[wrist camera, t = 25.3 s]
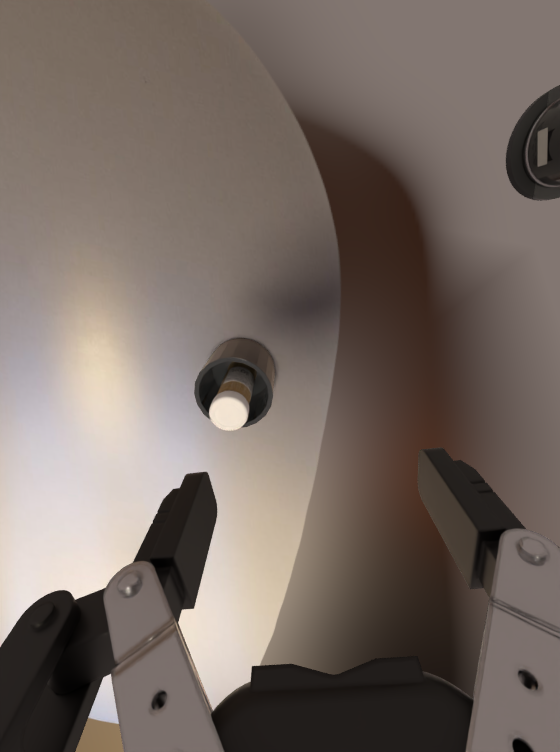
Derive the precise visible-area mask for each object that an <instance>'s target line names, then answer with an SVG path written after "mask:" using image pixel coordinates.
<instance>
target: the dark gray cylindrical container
mask: <svg viewBox="0 0 560 752" xmlns="http://www.w3.org/2000/svg"><path fill="white" fill-rule="evenodd" d="M232 362H238V363H244V364H246V365H248V366H250V367H252V368H254V369H255V370H256V378H255V380H254V386H253V391H252V395H251V400H250V402H249V414H248V418H247V421H246V423H245V424H244V425H243V426H242V427H248V426H250V425H252V424H255V423H257V422H258V421H260V420H261V419H262V418H263V417H264V416H265V415H266V414H267V412H268V410H269V409H270V407H271V404H272V398H273V389H274V377H275V368H274V362H273V359H272V357H271V355H270V353H269V352H268V351H267V350H266V349H265V348H264V347H263V346H262V345H261V344H259V343H257V342H255V341H253V340H250V339H245V338H236V339H231V340H228V341H226V342H224V343H223V344H221V345H220V346H219V347H218V348H217V349H216V350H215V351H214V352H213V354H212V355H211V357H210V358H209V360H208V361H207V363H206V364H205V365H204V367H203V368H202V370H201V371H200V373H199V375H198V377H197V379H196V382H195V391H194V393H195V398H196V402H197V404H198V406H199V408H200V409H201V411H202V412H203V414H204V415H205V416H207V417H208V418H209V419H210V416H209V409H210V406H211V403H212V401H213V399H214V398H215V396H216V395H217V393H218V391H219V389H220V386H221V383H222V381H223V378H224V376H225V374H226V373H227V371H228V367H229V365H230V364H231V363H232ZM210 420H211V419H210Z"/></svg>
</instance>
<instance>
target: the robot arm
mask: <svg viewBox="0 0 560 752" xmlns="http://www.w3.org/2000/svg"><path fill="white" fill-rule="evenodd" d="M522 164H523V168H524V171H525V173H526V175H527V177H528V178H529V179H530V180H531V181H532V182H533V183H534V184H536V185H538V186H540V187H544V188H556V187H560V98H559V99H557V100H556V101H554V102H552V103H551V104H550V105H548V106H547V107H546V108H545V109H544V110H543V111H542V112H541V113H540V114H539V115H538V116H537V117H536V119H535V120H534V122H533V123H532V125H531V126H530V128H529V130H528V132H527V135H526V137H525V140H524V144H523V149H522ZM418 463H419V464H418V488H419V493H420V495H421V498H422V501H423V503H424V505H425V506H426V508H427V510H428V512H429V514H430V516H431V518H432V519H433V521H434V523H435V525H436V527H437V529H438V530H439V532H440V534H441V536H442V538H443V540H444V542H445V543H446V545H447V547H448V549H449V551H450V553H451V554H452V556H453V558H454V560H455V562H456V564H457V566H458V567H459V569H460V571H461V573H462V575H463V577H464V578H465V580H466V582H467V584H468V586H469V588H470V589H477V588H484V589H485V591H486V593H487V595H488V596H489V604H488V610H487V616H486V622H485V628H484V634H483V640H482V646H481V652H480V658H479V664H478V670H477V676H476V682H475V688H474V694H473V699H472V698H471V697H470V696H468V695H467V694H466V693H465V692H463V691H462V690H460V689H459V688H457V687H456V686H454V685H453V684H451V683H449V682H447V681H446V680H443V679H442V678H440V677H437V676H435V675H432V674H430V673H426V672H422V669H421V665H420V662H419V659H418V657H417V656H411V657H397V658H379V659H374V660H371V661H369V662H366V663H364V664H362V665H359V666H357V667H354V668H352V669H350V670H347V671H345V672H342V673H341V674H337V675H331V674H327V673H323V672H320V671H316V670H312V669H308V668H305V667H301V666H297V665H294V664H281V665H265V666H252V673H251V682H249V683H246V684H244V685H243V686H241V687H239V688H238V689H236V690H235V691H233V692H232V693H231V694H229V695H228V696H227V697H226V698H225V699H224V700H223V701H222V702H221V703H220V704H219V705H218V706H217V707H216V708H215V709H214V711H213V709H212V707H211V704H210V702H209V699H208V697H207V695H206V692H205V690H204V687H203V685H202V682H201V680H200V677H199V675H198V672H197V670H196V667H195V665H194V662H193V659H192V657H191V654H190V652H189V649H188V647H187V644H186V642H185V639H184V637H183V634H182V632H181V629H180V626H179V624H178V621H179V617H180V614H181V610H182V609H194V606H195V602H196V598H197V594H198V590H199V586H200V582H201V578H202V574H203V570H204V566H205V562H206V558H207V554H208V550H209V546H210V543H211V539H212V535H213V531H214V527H215V523H216V518H217V503H216V499H215V495H214V492H213V488H212V485H211V481H210V478H209V475H208V473H207V472H199V473H190V474H186V476H185V477H184V480H183V482H182V484H181V487H180V488H178V489H173V490H172V491H171V492H170V493H169V494H168V495H167V496H166V497H165V498H164V499H163V501H162V503H161V505H160V508H159V510H158V514H156V516H155V518H154V520H153V524H151V526H150V528H149V530H148V532H147V534H146V537H145V539H144V541H143V543H142V545H141V547H140V549H139V551H138V553H137V555H136V557H135V559H134V561H133V563H132V564H129V565H127V566H125V567H124V568H122V569H121V570H120V571H119V572H117V573H116V574H115V575H114V576H113V578H112V579H111V580H110V582H109V583H108V585H107V587H106V588H104V589H102V590H99V591H97V592H94V593H92V594H89V595H87V596H84V597H81V598H79V599H76V600H75V599H74V597H73V596H72V594H71V593H70V592H68V591H65V590H59V591H55V592H52V593H50V594H47V595H45V596H44V597H42V598H40V599H39V600H38V601H36V602H35V603H34V604H33V605H31V606H30V607H29V608H28V609H27V610H26V611H25V612H24V613H23V615H22V616H21V617H20V619H19V620H18V621H17V623H16V624H15V626H14V627H13V629H12V630H11V632H10V633H9V635H8V636H7V638H6V639H5V641H4V642H3V644H2V645H1V647H0V752H75V751H76V748H77V745H78V743H79V740H80V737H81V735H82V732H83V730H84V727H85V724H86V721H87V719H88V716H89V714H90V711H91V708H92V706H93V703H94V700H95V698H96V695H97V693H98V690H99V687H100V685H101V682H102V679H103V677H105V676H107V675H109V674H111V677H112V685H113V690H114V696H115V702H116V708H117V714H118V720H119V726H120V731H121V738H122V744H123V749H124V752H560V548H559V547H558V546H557V545H556V544H555V543H554V542H552V541H551V540H549V539H548V538H546V537H544V536H542V535H541V534H538V533H536V532H533V531H530V530H527V529H526V528H525V527H524V526H523V525H522V524H521V522H520V521H519V520H518V519H517V518H516V517H515V516H514V514H513V513H512V512H511V511H510V510H509V508H508V507H507V506H506V505H505V504H504V503H503V501H502V500H501V499H500V498H499V497H498V496H497V494H496V493H495V492H493V490H492V489H491V487H490V486H489V485H488V484H487V483H485V481H484V479H483V478H482V477H481V476H480V474H479V473H478V472H477V471H476V470H475V469H474V468H472V467H470V466H469V465H468V464H466V463H464V462H463V461H461V460H458V461H453V460H452V459H451V457H450V456H449V455H448V453H447V452H446V451H445V450H444V449H443V448H432V449H423V450H420V451H419V462H418Z"/></svg>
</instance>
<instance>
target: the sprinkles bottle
mask: <svg viewBox="0 0 560 752" xmlns="http://www.w3.org/2000/svg"><path fill="white" fill-rule="evenodd" d="M255 378H256V370H255V369H254V368H252V367H250V366H248V365H246V364H244V363H238V362H232V363H231V364H230V365H229V367H228V371H227V373H226V374H225V376H224V378H223V381H222V383H221V386H220V389H219V391H218V393H217V395H216V396H215V398H214V399H213V401H212V403H211V406H210V409H209V416H210V419H211V421H212V422H213V424H214V425H215V426H217V427H218V428H220V429H223V430H227V431H232V430H236V429H239V428H241V427H242V426H243V425H244V424H245V423H246V421H247V418H248V414H249V402H250V400H251V395H252V391H253V386H254V380H255Z"/></svg>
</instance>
